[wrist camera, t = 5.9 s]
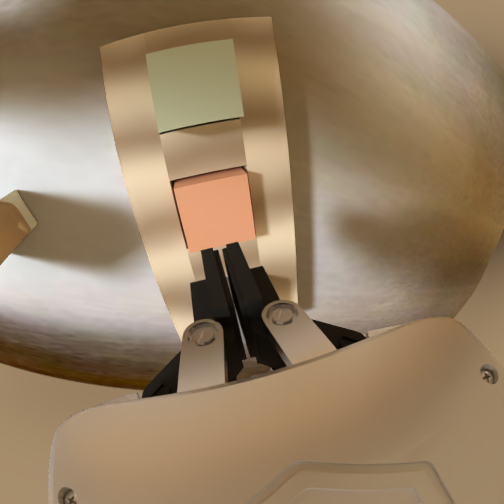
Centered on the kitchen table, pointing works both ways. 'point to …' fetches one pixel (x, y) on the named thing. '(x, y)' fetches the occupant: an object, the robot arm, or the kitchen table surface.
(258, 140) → the board
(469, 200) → the kitchen table surface
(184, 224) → the terracotta key
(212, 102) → the sage key
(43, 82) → the kitchen table surface
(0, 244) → the skincare box
